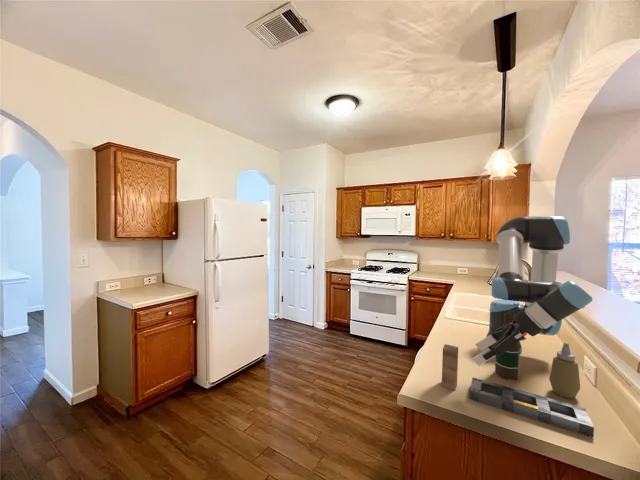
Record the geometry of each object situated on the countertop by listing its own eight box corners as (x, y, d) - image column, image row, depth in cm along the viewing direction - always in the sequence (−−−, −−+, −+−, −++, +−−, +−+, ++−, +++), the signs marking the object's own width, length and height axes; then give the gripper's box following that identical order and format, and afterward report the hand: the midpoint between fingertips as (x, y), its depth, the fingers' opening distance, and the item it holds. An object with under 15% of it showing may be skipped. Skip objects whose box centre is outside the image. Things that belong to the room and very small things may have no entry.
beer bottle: (511, 382, 102) (514, 319, 101) (490, 372, 109) (492, 313, 108) (522, 377, 106) (525, 316, 105) (501, 368, 113) (503, 311, 112)
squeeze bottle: (542, 387, 99) (545, 338, 99) (563, 387, 100) (565, 338, 99) (564, 401, 91) (567, 348, 91) (586, 400, 92) (589, 348, 91)
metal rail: (469, 398, 92) (469, 389, 91) (472, 385, 100) (472, 376, 100) (593, 437, 75) (594, 426, 75) (584, 417, 83) (584, 407, 83)
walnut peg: (443, 380, 103) (445, 344, 102) (457, 384, 100) (458, 347, 100) (441, 386, 99) (442, 348, 99) (455, 390, 97) (456, 351, 96)
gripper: (550, 342, 73) (483, 380, 82) (539, 319, 94) (487, 351, 103) (526, 319, 76) (464, 358, 85) (520, 301, 97) (471, 334, 106)
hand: (476, 354), depth 94 cm, fingers open, 13 cm apart
